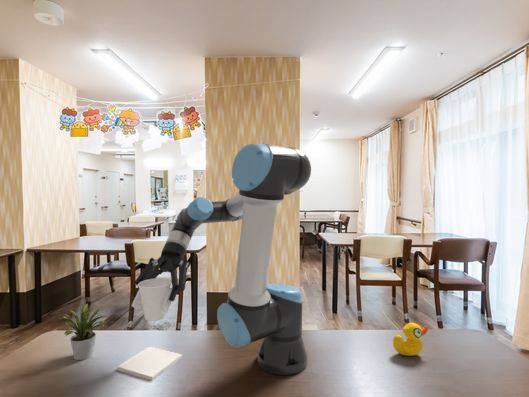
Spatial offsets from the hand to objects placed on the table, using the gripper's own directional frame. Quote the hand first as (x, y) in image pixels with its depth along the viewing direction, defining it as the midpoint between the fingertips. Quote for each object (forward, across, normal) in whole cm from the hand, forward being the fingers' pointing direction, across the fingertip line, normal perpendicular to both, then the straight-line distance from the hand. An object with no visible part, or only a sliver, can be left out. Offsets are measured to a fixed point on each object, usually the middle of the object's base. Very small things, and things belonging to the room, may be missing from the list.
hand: (149, 309), depth 96 cm
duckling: (-6, -77, -31) cm, 83 cm away
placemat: (+12, 0, -12) cm, 17 cm away
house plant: (+14, +22, -10) cm, 28 cm away
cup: (+1, 0, -5) cm, 5 cm away
